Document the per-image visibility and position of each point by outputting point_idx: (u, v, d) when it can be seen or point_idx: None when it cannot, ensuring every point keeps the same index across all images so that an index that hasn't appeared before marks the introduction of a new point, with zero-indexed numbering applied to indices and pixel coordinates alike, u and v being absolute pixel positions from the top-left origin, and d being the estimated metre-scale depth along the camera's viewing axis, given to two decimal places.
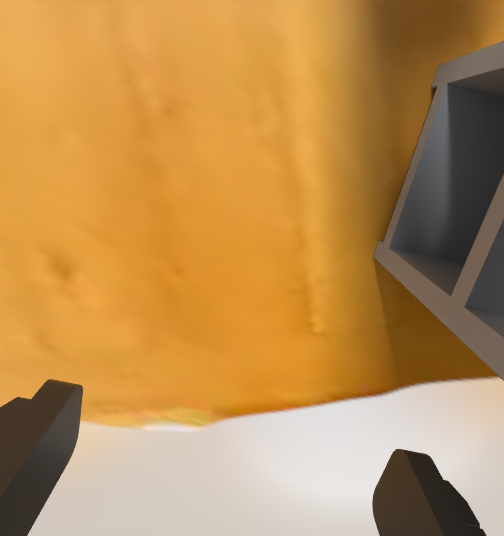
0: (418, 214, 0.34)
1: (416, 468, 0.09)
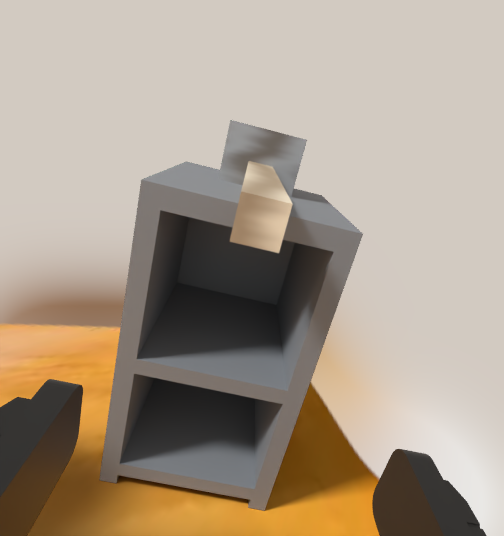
0: (222, 469, 0.41)
1: (416, 468, 0.09)
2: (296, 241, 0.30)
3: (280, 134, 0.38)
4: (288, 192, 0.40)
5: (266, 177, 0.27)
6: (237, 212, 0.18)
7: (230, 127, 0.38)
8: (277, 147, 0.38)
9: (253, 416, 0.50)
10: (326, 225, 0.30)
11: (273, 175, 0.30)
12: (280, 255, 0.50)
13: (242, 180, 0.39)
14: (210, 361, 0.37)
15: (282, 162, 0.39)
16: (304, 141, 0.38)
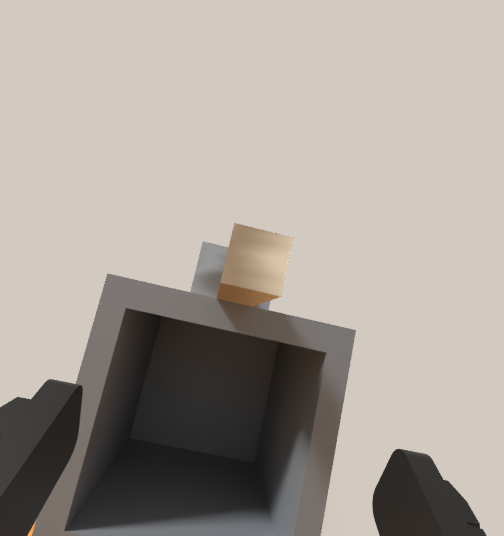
0: None
1: (416, 468, 0.09)
2: (283, 341, 0.26)
3: None
4: None
5: None
6: (230, 247, 0.16)
7: (202, 248, 0.38)
8: None
9: None
10: (315, 321, 0.27)
11: None
12: (255, 395, 0.44)
13: None
14: (173, 532, 0.26)
15: None
16: None
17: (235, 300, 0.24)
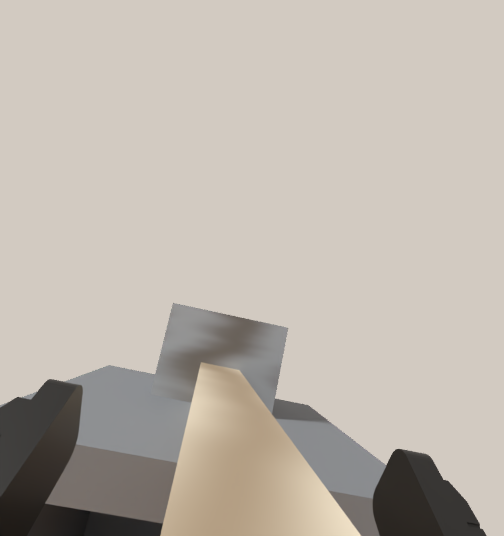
0: None
1: (416, 468, 0.09)
2: None
3: (248, 321, 0.25)
4: None
5: (238, 404, 0.12)
6: None
7: (172, 313, 0.25)
8: (245, 339, 0.25)
9: None
10: (369, 498, 0.14)
11: (248, 393, 0.15)
12: None
13: (190, 394, 0.24)
14: None
15: (253, 363, 0.25)
16: (284, 330, 0.26)
17: None
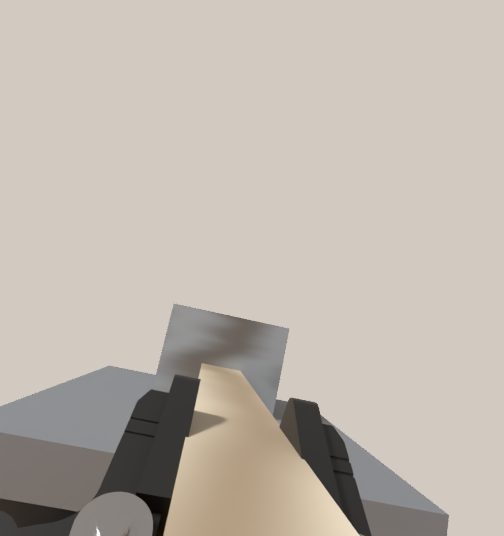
0: None
1: (299, 411, 0.09)
2: None
3: (249, 322, 0.25)
4: None
5: (240, 407, 0.12)
6: None
7: (173, 314, 0.25)
8: (246, 340, 0.25)
9: None
10: (370, 501, 0.14)
11: (250, 395, 0.15)
12: None
13: None
14: None
15: (254, 364, 0.25)
16: (285, 330, 0.25)
17: None
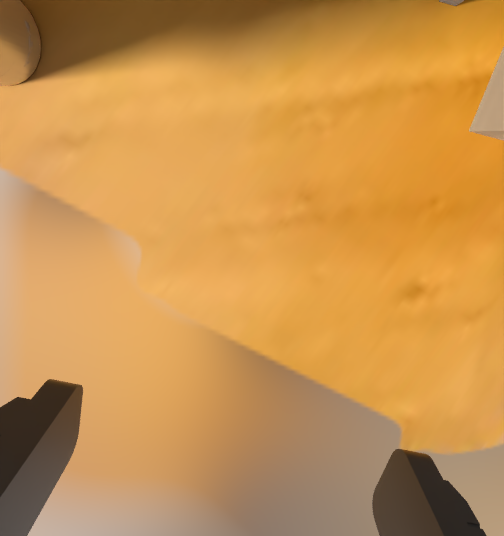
0: None
1: (416, 468, 0.09)
2: None
3: None
4: None
5: None
6: (498, 131, 0.11)
7: None
8: None
9: None
10: None
11: None
12: None
13: None
14: None
15: None
16: None
17: None
